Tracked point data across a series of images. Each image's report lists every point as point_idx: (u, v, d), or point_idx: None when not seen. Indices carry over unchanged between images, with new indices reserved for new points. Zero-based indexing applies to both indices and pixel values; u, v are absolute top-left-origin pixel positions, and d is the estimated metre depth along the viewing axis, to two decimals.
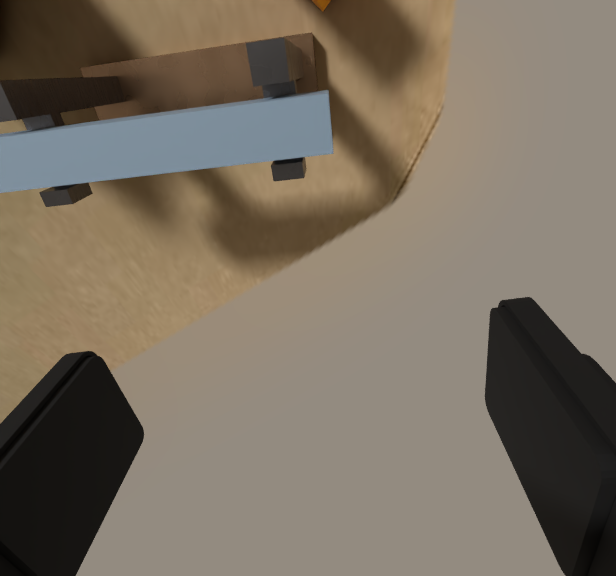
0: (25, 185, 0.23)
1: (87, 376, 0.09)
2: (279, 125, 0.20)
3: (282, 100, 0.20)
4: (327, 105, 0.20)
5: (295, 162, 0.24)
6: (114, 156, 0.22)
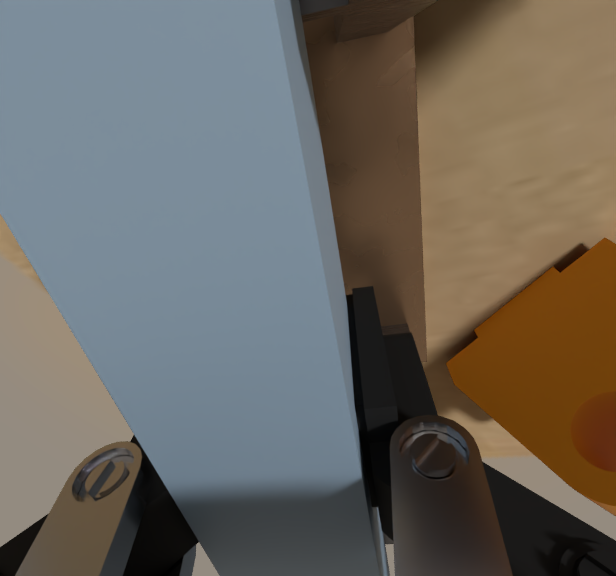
0: None
1: None
2: None
3: None
4: None
5: None
6: (236, 466, 0.05)
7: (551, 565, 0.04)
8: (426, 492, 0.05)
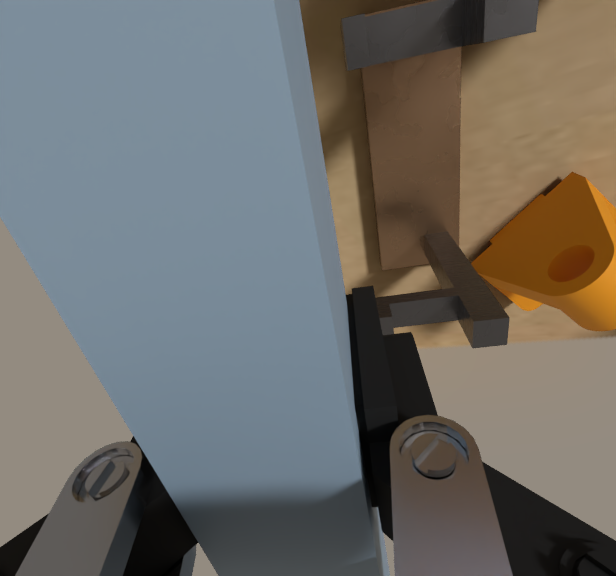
0: None
1: None
2: None
3: None
4: None
5: None
6: (236, 467, 0.05)
7: (551, 565, 0.04)
8: (426, 492, 0.05)
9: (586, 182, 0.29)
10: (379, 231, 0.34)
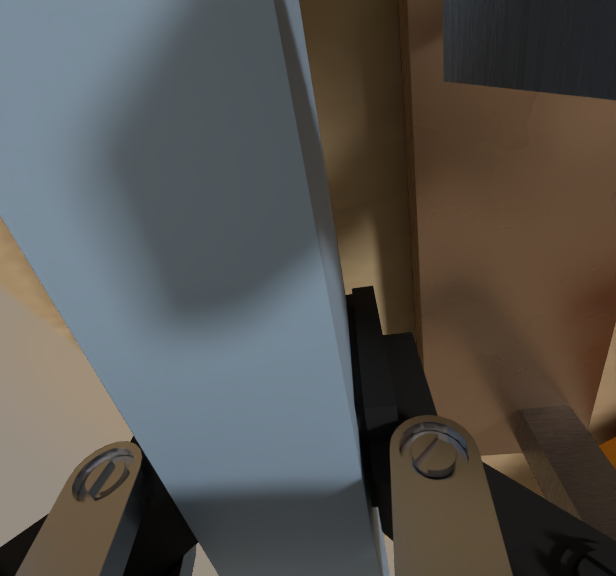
0: None
1: None
2: None
3: None
4: None
5: None
6: (236, 467, 0.05)
7: (551, 565, 0.04)
8: (426, 492, 0.05)
9: None
10: None
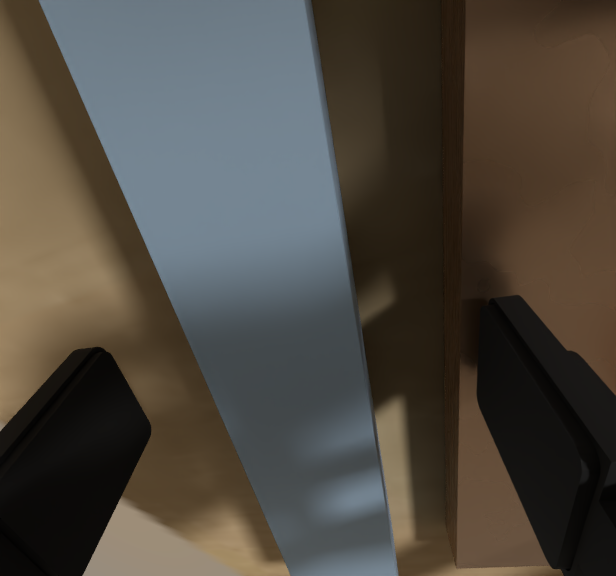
0: None
1: (96, 371, 0.09)
2: None
3: None
4: None
5: None
6: (269, 376, 0.07)
7: None
8: None
9: None
10: (460, 509, 0.13)
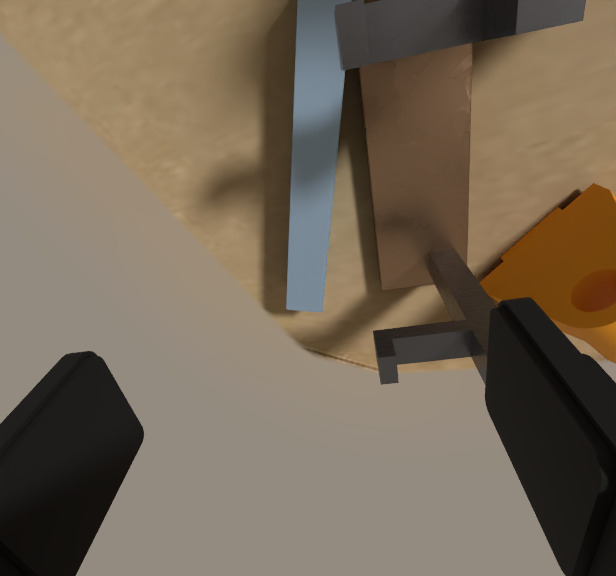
0: (300, 44, 0.22)
1: (87, 376, 0.09)
2: (309, 282, 0.30)
3: (324, 286, 0.30)
4: (315, 310, 0.31)
5: None
6: (310, 153, 0.25)
7: None
8: None
9: (611, 196, 0.26)
10: (379, 248, 0.31)
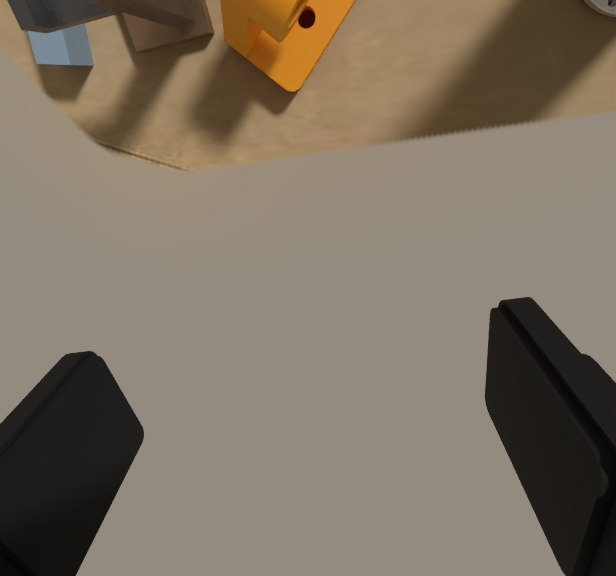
0: None
1: (87, 376, 0.09)
2: None
3: (62, 31, 0.32)
4: (64, 63, 0.33)
5: (33, 17, 0.23)
6: None
7: None
8: None
9: None
10: None
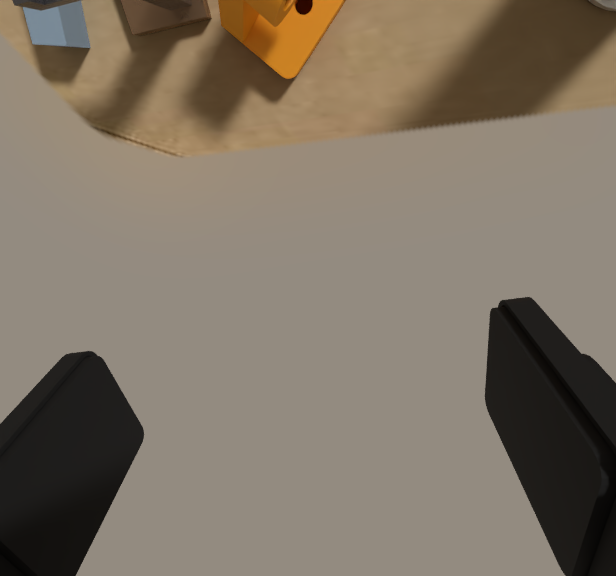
0: None
1: (87, 376, 0.09)
2: None
3: (58, 11, 0.31)
4: (60, 44, 0.33)
5: None
6: None
7: None
8: None
9: None
10: None
